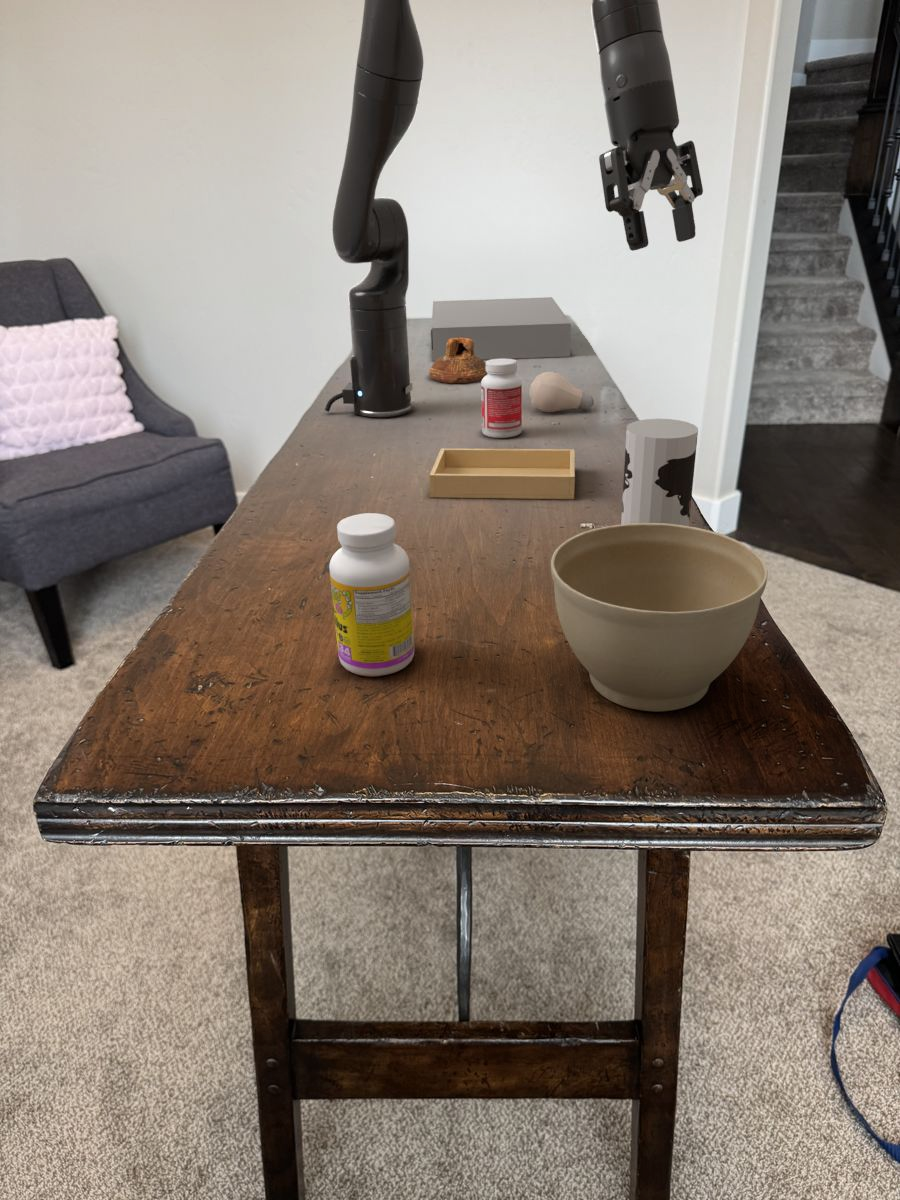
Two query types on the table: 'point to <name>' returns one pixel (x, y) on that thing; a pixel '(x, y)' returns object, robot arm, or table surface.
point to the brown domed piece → (458, 363)
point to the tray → (504, 473)
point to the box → (503, 327)
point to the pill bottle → (501, 399)
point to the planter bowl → (656, 609)
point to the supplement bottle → (371, 597)
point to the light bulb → (557, 394)
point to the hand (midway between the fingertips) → (663, 244)
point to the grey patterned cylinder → (659, 471)
